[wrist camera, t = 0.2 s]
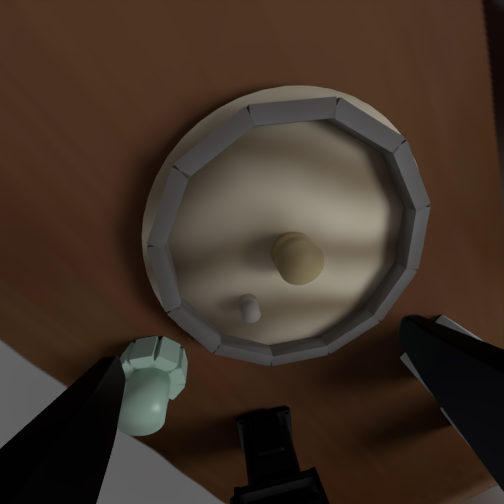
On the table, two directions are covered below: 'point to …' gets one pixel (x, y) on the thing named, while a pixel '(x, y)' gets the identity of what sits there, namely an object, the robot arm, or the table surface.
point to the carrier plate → (285, 225)
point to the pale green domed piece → (150, 383)
